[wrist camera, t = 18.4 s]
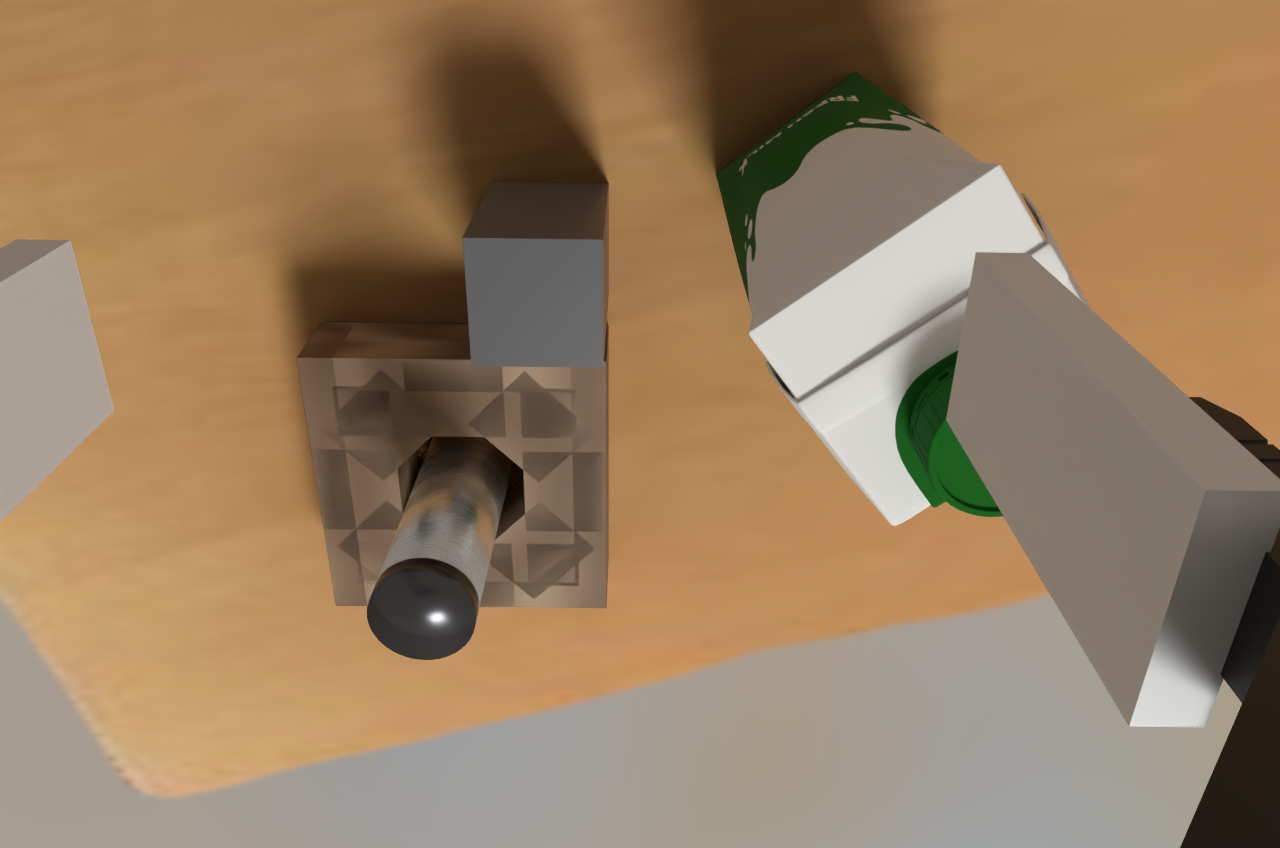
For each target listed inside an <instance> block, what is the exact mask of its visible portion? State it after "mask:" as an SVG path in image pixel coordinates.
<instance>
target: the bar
mask: <svg viewBox="0 0 1280 848" xmlns="http://www.w3.org/2000/svg"><path fill="white" fill-rule="evenodd" d="M463 251H464V266H465V280H466V295H467V309H468V323H469V338H470V352H471V366H505V367H588V368H603V367H604V352H605V338H606V324H607V309H608V295H609V183H543V182H491V183H490V185H489V187H488V189H487V191H486V193H485V195H484V197H483V199H482V201H481V203H480V205H479V207H478V209H477V211H476V213H475V215H474V217H473V218H472V220H471V222H470V224H469V226H468V228H467V230H466V232H465V234H464V236H463Z"/></svg>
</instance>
